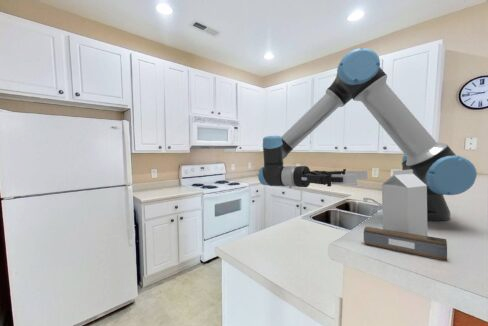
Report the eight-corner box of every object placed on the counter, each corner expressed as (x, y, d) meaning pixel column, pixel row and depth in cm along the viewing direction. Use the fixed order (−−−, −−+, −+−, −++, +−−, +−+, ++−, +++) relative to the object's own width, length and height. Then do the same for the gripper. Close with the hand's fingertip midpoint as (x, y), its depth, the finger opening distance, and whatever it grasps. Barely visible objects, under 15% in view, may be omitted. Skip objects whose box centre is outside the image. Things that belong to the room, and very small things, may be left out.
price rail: (366, 241, 59) (366, 226, 59) (446, 256, 49) (446, 239, 49) (363, 244, 57) (363, 229, 57) (447, 262, 46) (447, 243, 46)
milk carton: (428, 242, 57) (426, 170, 56) (408, 247, 55) (407, 171, 54) (400, 233, 64) (399, 169, 63) (382, 237, 61) (381, 170, 61)
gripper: (311, 182, 88) (371, 184, 75) (279, 192, 69) (351, 196, 56) (310, 164, 88) (370, 162, 75) (278, 168, 69) (350, 167, 56)
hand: (362, 177), depth 65 cm, fingers open, 13 cm apart
